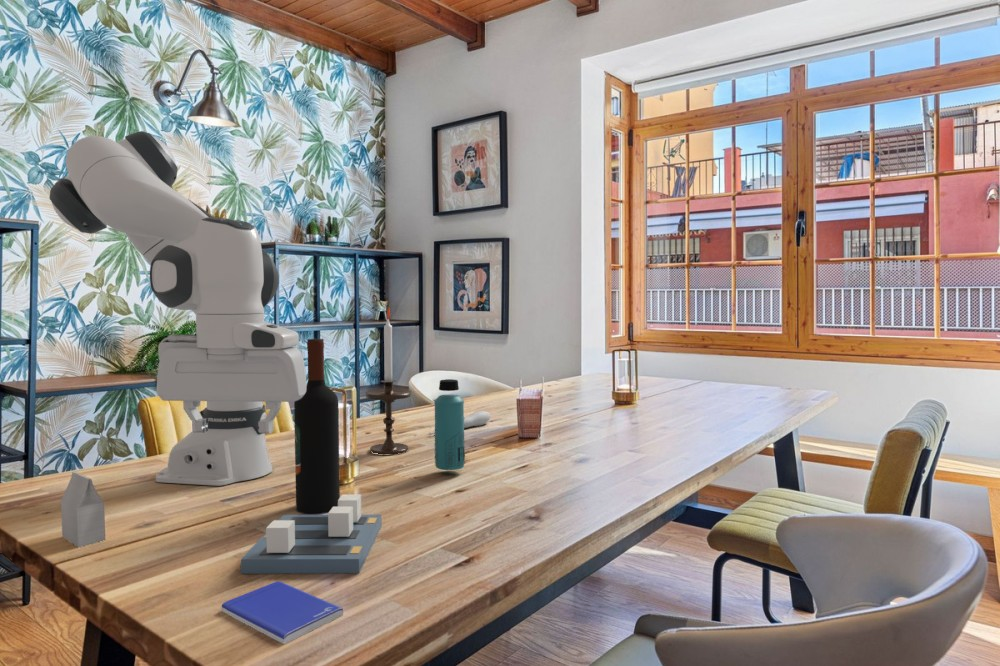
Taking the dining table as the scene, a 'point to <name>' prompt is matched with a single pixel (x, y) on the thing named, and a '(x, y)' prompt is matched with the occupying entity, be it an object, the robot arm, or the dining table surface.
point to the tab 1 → (280, 536)
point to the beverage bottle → (449, 428)
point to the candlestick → (388, 397)
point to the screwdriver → (475, 419)
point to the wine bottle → (316, 439)
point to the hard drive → (281, 611)
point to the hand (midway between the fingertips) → (233, 432)
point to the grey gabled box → (82, 512)
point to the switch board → (315, 548)
